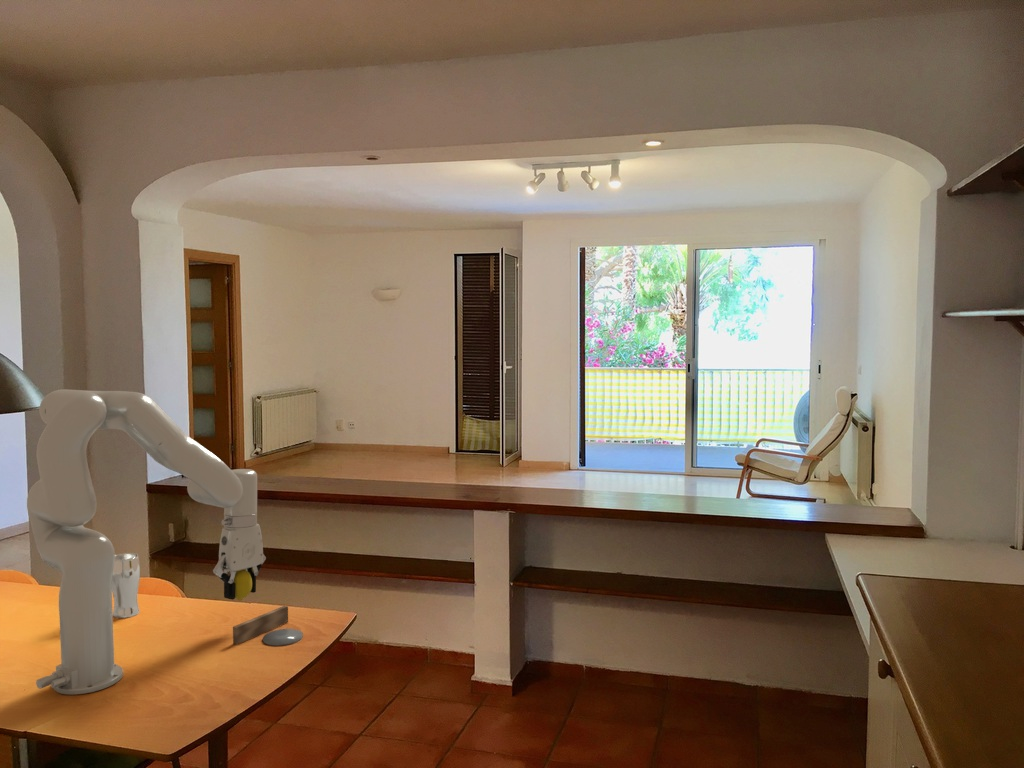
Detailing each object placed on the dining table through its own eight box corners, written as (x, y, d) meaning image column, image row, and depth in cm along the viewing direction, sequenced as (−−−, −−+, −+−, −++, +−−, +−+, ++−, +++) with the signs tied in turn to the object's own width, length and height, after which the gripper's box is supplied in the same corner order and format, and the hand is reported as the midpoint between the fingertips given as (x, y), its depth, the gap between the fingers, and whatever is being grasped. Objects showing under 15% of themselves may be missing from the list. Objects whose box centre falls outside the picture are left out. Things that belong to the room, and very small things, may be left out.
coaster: (282, 648, 175) (282, 646, 175) (254, 641, 179) (254, 638, 179) (310, 635, 183) (310, 633, 183) (283, 628, 187) (283, 626, 187)
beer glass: (113, 611, 199) (111, 554, 198) (143, 608, 201) (141, 551, 200) (108, 620, 192) (106, 561, 192) (138, 617, 195) (136, 559, 194)
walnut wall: (236, 644, 177) (236, 627, 177) (233, 643, 178) (232, 626, 177) (288, 622, 191) (287, 606, 191) (284, 621, 192) (284, 605, 191)
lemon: (247, 604, 183) (247, 571, 183) (224, 604, 183) (224, 570, 183) (255, 597, 189) (255, 565, 188) (233, 596, 189) (233, 564, 189)
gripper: (222, 529, 176) (221, 607, 177) (278, 516, 191) (278, 588, 192) (200, 525, 180) (199, 601, 180) (257, 513, 195) (256, 583, 195)
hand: (240, 594), depth 186 cm, fingers closed on lemon, 5 cm apart
